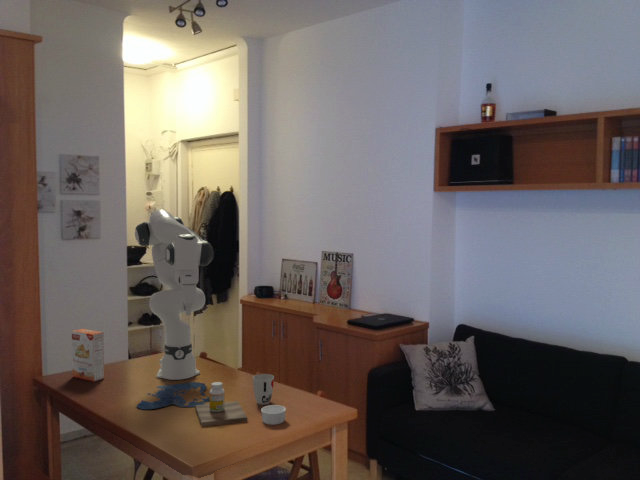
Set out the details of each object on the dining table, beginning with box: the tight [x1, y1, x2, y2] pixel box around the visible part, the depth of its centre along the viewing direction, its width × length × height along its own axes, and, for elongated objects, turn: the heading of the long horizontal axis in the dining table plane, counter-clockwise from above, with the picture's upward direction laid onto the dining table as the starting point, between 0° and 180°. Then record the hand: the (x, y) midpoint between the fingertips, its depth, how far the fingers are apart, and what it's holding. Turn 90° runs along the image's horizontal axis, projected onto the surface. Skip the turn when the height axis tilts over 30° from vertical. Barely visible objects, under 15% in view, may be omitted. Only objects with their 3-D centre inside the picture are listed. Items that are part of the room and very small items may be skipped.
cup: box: [252, 373, 275, 405], centre depth 226 cm, size 8×8×10 cm
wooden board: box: [194, 400, 248, 427], centre depth 212 cm, size 18×16×2 cm
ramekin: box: [260, 404, 287, 426], centre depth 207 cm, size 9×9×4 cm
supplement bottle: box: [209, 381, 225, 412], centre depth 214 cm, size 5×5×10 cm
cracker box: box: [71, 328, 105, 382], centre depth 256 cm, size 14×6×21 cm, turn 60°
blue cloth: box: [136, 381, 210, 410], centre depth 234 cm, size 27×29×1 cm
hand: (187, 312), depth 223 cm, fingers open, 8 cm apart
